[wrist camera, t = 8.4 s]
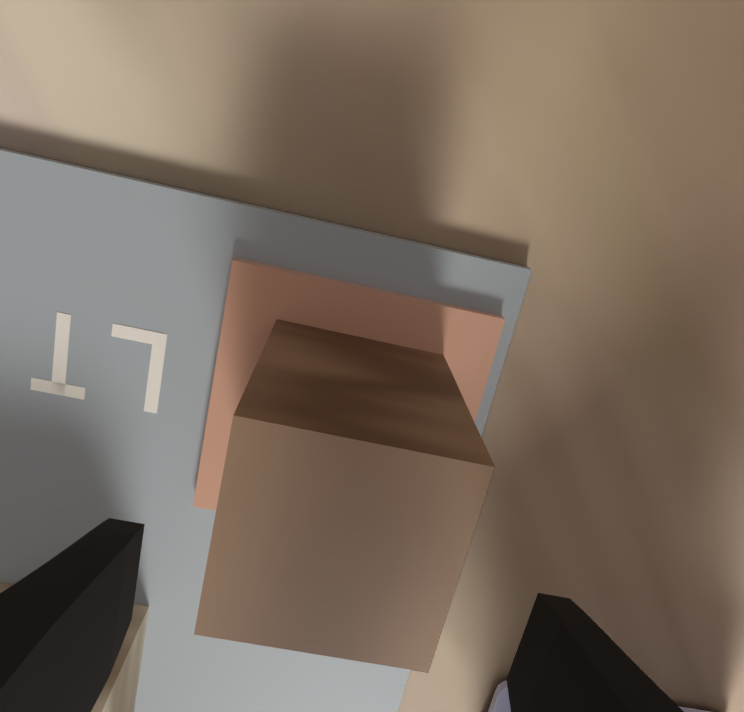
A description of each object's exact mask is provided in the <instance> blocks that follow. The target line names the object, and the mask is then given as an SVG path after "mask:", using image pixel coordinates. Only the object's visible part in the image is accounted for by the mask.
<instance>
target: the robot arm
mask: <svg viewBox="0 0 744 712" xmlns="http://www.w3.org/2000/svg"><path fill="white" fill-rule="evenodd" d="M144 526H145V524H141V523H135V522H130V521H124V520H118V519H112V518H108V519H107V520H105V521H104V522H102V523H100V524H99V525H98V526H96V527H95V528H93V529H92V530H91V531H89V532H88V533H87V534H85V535H84V536H82V537H81V538H80V539H78V540H77V541H76V542H74V543H73V544H71V545H70V546H69V547H67V548H66V549H64V550H63V551H62V552H60V553H59V554H57V555H56V556H55V557H53V558H52V559H50V560H49V561H48V562H46V563H45V564H43V565H42V566H40V567H39V568H37V569H36V570H34V571H33V572H31V573H30V574H28V575H27V576H25V577H24V578H22V579H21V580H19V581H18V582H16V583H15V584H14V585H12V586H10V587H9V588H7V589H6V590H4V591H3V592H1V593H0V712H91V711H92V709H93V707H94V705H95V703H96V701H97V699H98V697H99V695H100V694H101V692H102V690H103V688H104V686H105V684H106V682H107V680H108V678H109V676H110V674H111V671H112V669H113V666H114V664H115V661H116V659H117V656H118V654H119V651H120V649H121V646H122V643H123V641H124V638H125V636H126V633H127V630H128V628H129V625H130V623H131V620H132V613H133V606H134V599H135V591H136V584H137V577H138V569H139V562H140V555H141V547H142V540H143V533H144ZM488 712H711V711H705V710H698V709H692V708H686V707H680V706H677V705H676V704H675V703H674V702H673V701H672V700H671V699H670V698H669V697H668V696H667V695H666V694H665V693H664V692H663V691H662V690H661V689H660V688H659V687H658V686H657V685H656V684H655V683H654V682H653V681H652V680H651V679H650V678H649V677H648V676H647V675H646V674H645V673H644V672H643V671H642V670H641V669H640V668H639V667H638V666H637V665H636V664H635V663H634V662H633V661H632V660H631V659H630V658H629V657H628V656H627V655H626V654H625V653H624V652H623V651H622V650H621V649H620V648H619V647H618V646H617V645H616V644H615V643H614V642H613V641H612V639H611V638H610V637H609V636H608V635H607V634H606V633H605V632H604V631H603V630H602V629H601V628H600V627H599V626H598V625H597V624H596V623H595V622H594V621H593V620H592V619H591V618H590V617H589V616H588V615H587V614H586V613H585V612H584V611H583V610H582V609H581V608H580V607H578V606H577V605H576V604H575V603H574V602H573V601H572V600H571V599H569V598H564V597H558V596H552V595H547V594H541V593H538V595H537V598H536V600H535V603H534V606H533V609H532V611H531V614H530V617H529V620H528V622H527V625H526V628H525V631H524V633H523V636H522V639H521V642H520V644H519V647H518V650H517V652H516V655H515V658H514V661H513V663H512V666H511V669H510V672H509V674H508V677H507V680H506V681H503V682H501V683H500V684H499V685H498V686H497V688H496V690H495V693H494V696H493V699H492V701H491V704H490V707H489V710H488Z"/></svg>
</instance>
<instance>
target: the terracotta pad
mask: <svg viewBox="0 0 744 712" xmlns="http://www.w3.org/2000/svg"><path fill="white" fill-rule="evenodd" d="M277 319H279V320H284V321H288V322H293V323H297V324H302V325H307V326H311V327H316V328H321V329H325V330H330V331H335V332H339V333H344V334H349V335H353V336H358V337H363V338H367V339H372V340H377V341H381V342H386V343H391V344H395V345H400V346H404V347H409V348H414V349H418V350H423V351H428V352H432V353H437V354H442V355H444V357H445V359H446V361H447V363H448V366H449V368H450V370H451V372H452V374H453V377H454V379H455V381H456V383H457V385H458V388H459V390H460V392H461V394H462V396H463V398H464V401H465V403H466V405H467V407H468V409H469V412H470V414H471V416H472V418H473V420H474V423H475V419H476V416H477V413H478V409H479V406H480V403H481V399H482V396H483V393H484V389H485V386H486V383H487V379H488V376H489V373H490V369H491V366H492V363H493V359H494V356H495V353H496V349H497V346H498V343H499V339H500V336H501V333H502V329H503V326H504V322H505V318H504V317H503V316H502V315H499V314H494V313H489V312H485V311H480V310H476V309H471V308H466V307H462V306H457V305H453V304H448V303H443V302H439V301H434V300H430V299H425V298H420V297H416V296H411V295H407V294H402V293H397V292H393V291H388V290H384V289H379V288H374V287H370V286H365V285H361V284H356V283H351V282H347V281H342V280H338V279H333V278H328V277H324V276H319V275H315V274H310V273H305V272H301V271H296V270H292V269H287V268H282V267H278V266H273V265H269V264H264V263H259V262H255V261H250V260H246V259H241V258H236V257H235V258H234V259H233V260H232V265H231V271H230V278H229V284H228V290H227V296H226V303H225V309H224V315H223V321H222V328H221V334H220V340H219V346H218V353H217V359H216V365H215V371H214V378H213V384H212V390H211V396H210V403H209V409H208V415H207V421H206V428H205V434H204V440H203V446H202V453H201V459H200V465H199V471H198V478H197V484H196V490H195V496H194V503H193V506H194V507H199V508H205V509H211V510H216V509H217V503H218V497H219V492H220V486H221V481H222V475H223V470H224V464H225V459H226V453H227V447H228V442H229V436H230V431H231V425H232V420H233V415H234V413H235V410H236V408H237V406H238V404H239V402H240V399H241V397H242V395H243V393H244V390H245V388H246V386H247V384H248V382H249V379H250V377H251V375H252V373H253V371H254V368H255V366H256V364H257V362H258V359H259V357H260V355H261V353H262V351H263V348H264V346H265V344H266V342H267V339H268V337H269V335H270V333H271V331H272V328H273V326H274V324H275V322H276V320H277Z"/></svg>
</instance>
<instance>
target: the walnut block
mask: <svg viewBox="0 0 744 712" xmlns="http://www.w3.org/2000/svg"><path fill="white" fill-rule="evenodd" d="M494 468H495V466H494V464H493V462H492V460H491V458H490V455H489V453H488V451H487V449H486V447H485V444H484V442H483V440H482V438H481V436H480V433H479V431H478V429H477V427H476V425H475V423H474V420H473V418H472V416H471V414H470V412H469V409H468V407H467V405H466V403H465V401H464V398H463V396H462V394H461V392H460V390H459V388H458V385H457V383H456V381H455V379H454V377H453V374H452V372H451V370H450V368H449V366H448V363H447V361H446V359H445V357H444V355H442V354H437V353H432V352H428V351H423V350H418V349H414V348H409V347H404V346H400V345H395V344H391V343H386V342H381V341H377V340H372V339H367V338H363V337H358V336H353V335H349V334H344V333H339V332H335V331H330V330H325V329H321V328H316V327H311V326H307V325H302V324H297V323H293V322H288V321H284V320H279V319H277V320H276V322H275V324H274V326H273V328H272V331H271V333H270V335H269V337H268V339H267V342H266V344H265V346H264V348H263V351H262V353H261V355H260V357H259V359H258V362H257V364H256V366H255V368H254V371H253V373H252V375H251V377H250V379H249V382H248V384H247V386H246V388H245V390H244V393H243V395H242V397H241V399H240V402H239V404H238V406H237V408H236V410H235V413H234V415H233V420H232V425H231V431H230V436H229V442H228V447H227V453H226V459H225V464H224V470H223V475H222V481H221V486H220V492H219V497H218V503H217V509H216V514H215V520H214V525H213V531H212V536H211V542H210V547H209V553H208V559H207V564H206V570H205V575H204V581H203V586H202V592H201V597H200V603H199V609H198V614H197V620H196V625H195V631H194V635H200V636H206V637H212V638H218V639H224V640H230V641H237V642H243V643H249V644H255V645H261V646H267V647H273V648H280V649H286V650H292V651H298V652H304V653H310V654H316V655H323V656H329V657H335V658H341V659H347V660H353V661H359V662H366V663H372V664H378V665H384V666H390V667H396V668H402V669H409V670H415V671H421V672H427V673H428V672H429V669H430V666H431V663H432V660H433V657H434V654H435V651H436V648H437V645H438V641H439V638H440V635H441V632H442V629H443V626H444V623H445V620H446V617H447V614H448V611H449V608H450V604H451V601H452V598H453V595H454V592H455V589H456V586H457V583H458V580H459V577H460V574H461V570H462V567H463V564H464V561H465V558H466V555H467V552H468V549H469V546H470V543H471V540H472V536H473V533H474V530H475V527H476V524H477V521H478V518H479V515H480V512H481V509H482V506H483V502H484V499H485V496H486V493H487V490H488V487H489V484H490V481H491V478H492V475H493V472H494Z"/></svg>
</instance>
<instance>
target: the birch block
mask: <svg viewBox="0 0 744 712" xmlns="http://www.w3.org/2000/svg"><path fill="white" fill-rule="evenodd" d="M12 585H13V584H7V583H1V582H0V593H1V592H3V591H4V590H6V589H7V588H9V587H10V586H12ZM148 610H149V606H143V605H137V604H134V606H133V613H132V620H131V623H130V625H129V628H128V630H127V633H126V636H125V638H124V641H123V643H122V646H121V649H120V651H119V654H118V656H117V659H116V661H115V664H114V666H113V669H112V671H111V674H110V676H109V678H108V680H107V682H106V684H105V686H104V688H103V690H102V692H101V694H100V695H99V697H98V699H97V701H96V703H95V705H94V707H93V709H92V711H91V712H134V707H135V700H136V693H137V686H138V679H139V672H140V666H141V659H142V652H143V645H144V638H145V631H146V624H147V617H148Z"/></svg>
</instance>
